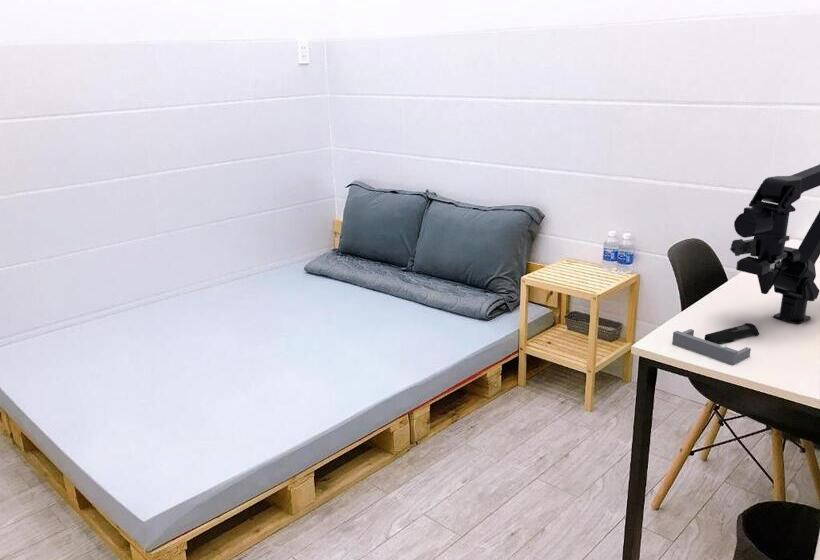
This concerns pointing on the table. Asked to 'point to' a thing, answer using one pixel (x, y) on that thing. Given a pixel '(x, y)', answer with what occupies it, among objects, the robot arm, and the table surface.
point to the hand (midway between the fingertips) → (764, 293)
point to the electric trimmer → (732, 333)
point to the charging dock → (709, 347)
